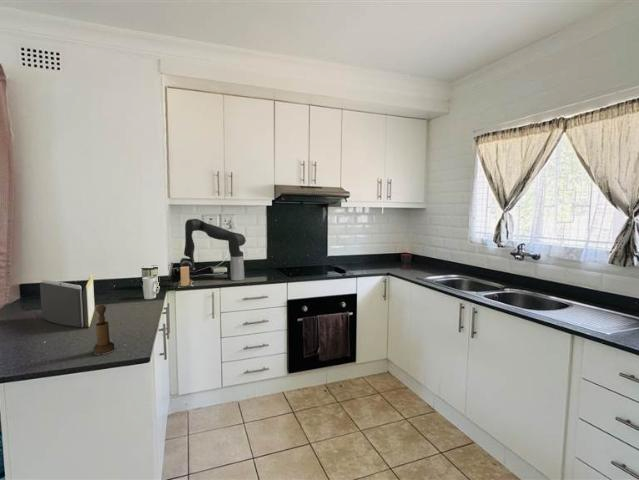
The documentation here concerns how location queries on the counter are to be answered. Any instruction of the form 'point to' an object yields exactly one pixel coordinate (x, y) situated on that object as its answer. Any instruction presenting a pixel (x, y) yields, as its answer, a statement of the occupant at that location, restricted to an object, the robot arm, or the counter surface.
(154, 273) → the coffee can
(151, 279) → the mug
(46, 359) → the counter surface
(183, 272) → the block
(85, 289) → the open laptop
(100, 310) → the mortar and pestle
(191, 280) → the chute
